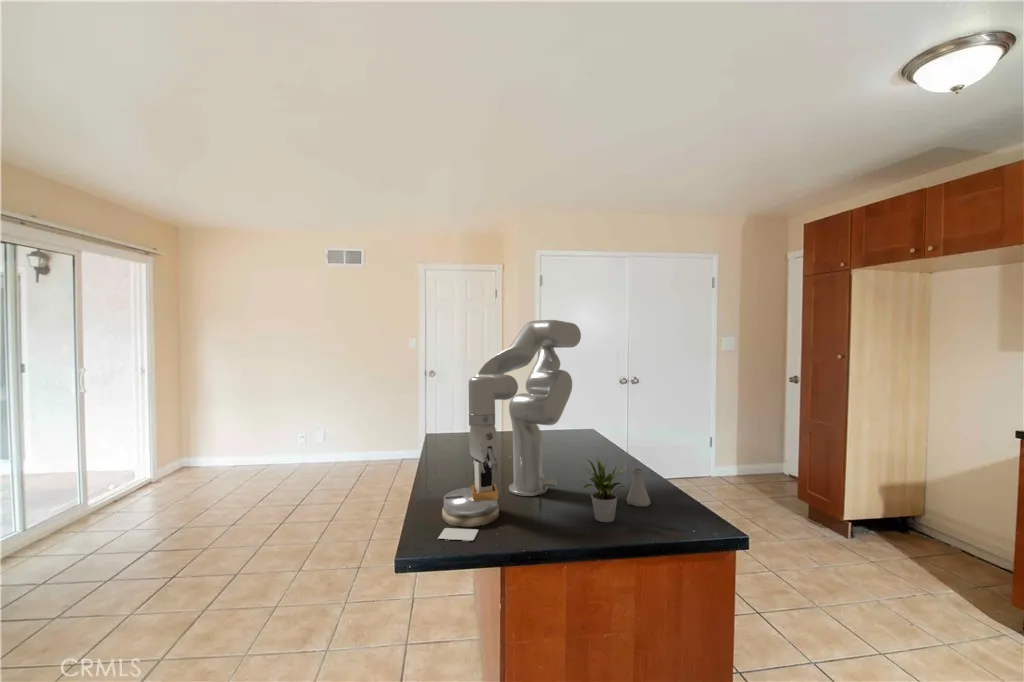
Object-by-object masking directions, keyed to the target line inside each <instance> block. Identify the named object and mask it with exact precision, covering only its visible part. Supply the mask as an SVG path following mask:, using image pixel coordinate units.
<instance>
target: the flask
mask: <svg viewBox="0 0 1024 682" xmlns="http://www.w3.org/2000/svg"><path fill="white" fill-rule="evenodd" d="M632 472H633V475H632V476H633V477H632V483H631V484H630V489H629V490H628V493H627V496H626V499H625V501H626V503H627V504H628V505H631V506H635V507H648V506H650V505H651V504H652V503H651V499H650V496H649V494H648V491H647V489H646V485H645V482H644V477H643V476H644V475H643V473H644V469H643V468H641V467H640V468H639V467H635V468H632Z"/></svg>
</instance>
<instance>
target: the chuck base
mask: <svg viewBox="0 0 1024 682" xmlns="http://www.w3.org/2000/svg"><path fill="white" fill-rule="evenodd" d="M499 516H500V506H499V503H497V508H496V510H495V511H493V512H492V513H489V514H487V515H484V516H479V517H471V518H463V517H455V516H451V515H449V514H447V513H446V512H445V511H444V506H443V507H442V508H441V517H442V518H441V519H442V521H443V520H444V521H445V523H446V524H447V523H448V525H450V526H453V525H454V527H458V526H460V527H461V528H476V527H480V525H481V526H486V525H487V524H491V523H493V522H495V521H496V520H497V519H498V518H499ZM495 519H496V520H495ZM494 520H495V521H494ZM444 521H443V522H444ZM492 521H493V522H492ZM490 522H491V523H490ZM475 526H476V527H475Z"/></svg>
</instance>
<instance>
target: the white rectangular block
mask: <svg viewBox="0 0 1024 682" xmlns="http://www.w3.org/2000/svg"><path fill="white" fill-rule="evenodd" d="M485 461H488V459H485ZM487 464H488V463H485V466H486V465H487ZM474 472H475V482H474V485H475V492H488V491H493V487H492V485H491V486H487V487H481V472H482V466H481V461H479V460H477V461H474V467H473V473H474Z"/></svg>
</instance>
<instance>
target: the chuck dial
mask: <svg viewBox="0 0 1024 682" xmlns="http://www.w3.org/2000/svg"><path fill="white" fill-rule="evenodd" d="M492 487H493V491H488V492H475V484H471V486H469V487H463V488H462V487H461V488H457V489H454V490H452V491H449V492H447V493H446V494H444V496H443V507H444V511H445V512H446V513H447V514H449V515H451V516H455V517H463V518H471V517H479V516H484V515H487V514H489V513H492V512H493V511H495V510H496V508H497V504H498V499H499V491H498V487H497V484H496V483H492Z"/></svg>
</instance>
